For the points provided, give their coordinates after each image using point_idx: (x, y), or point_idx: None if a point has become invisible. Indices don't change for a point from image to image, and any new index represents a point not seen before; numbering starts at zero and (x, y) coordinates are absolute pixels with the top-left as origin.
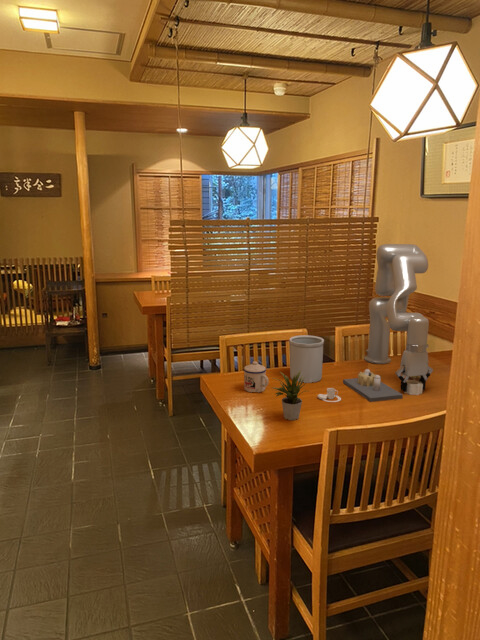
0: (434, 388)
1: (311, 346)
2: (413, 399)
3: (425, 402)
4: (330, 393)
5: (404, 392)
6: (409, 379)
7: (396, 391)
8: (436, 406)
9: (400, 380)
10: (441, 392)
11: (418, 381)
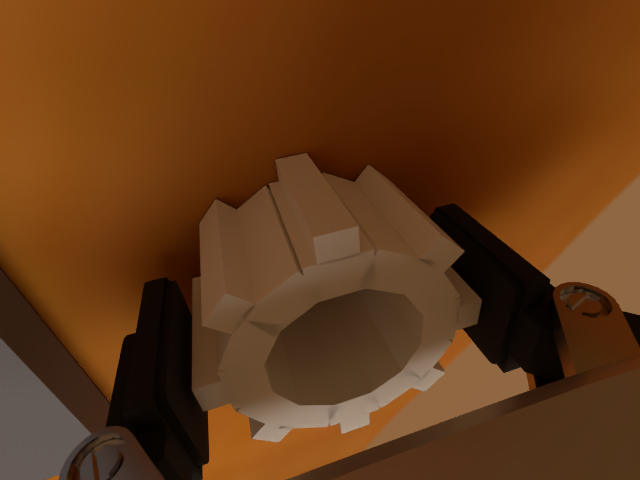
0: (600, 154)
1: None
2: (226, 413)
3: (296, 437)
4: None
5: (196, 288)
6: None
7: (43, 400)
8: None
9: (92, 449)
10: (559, 254)
11: (454, 305)
